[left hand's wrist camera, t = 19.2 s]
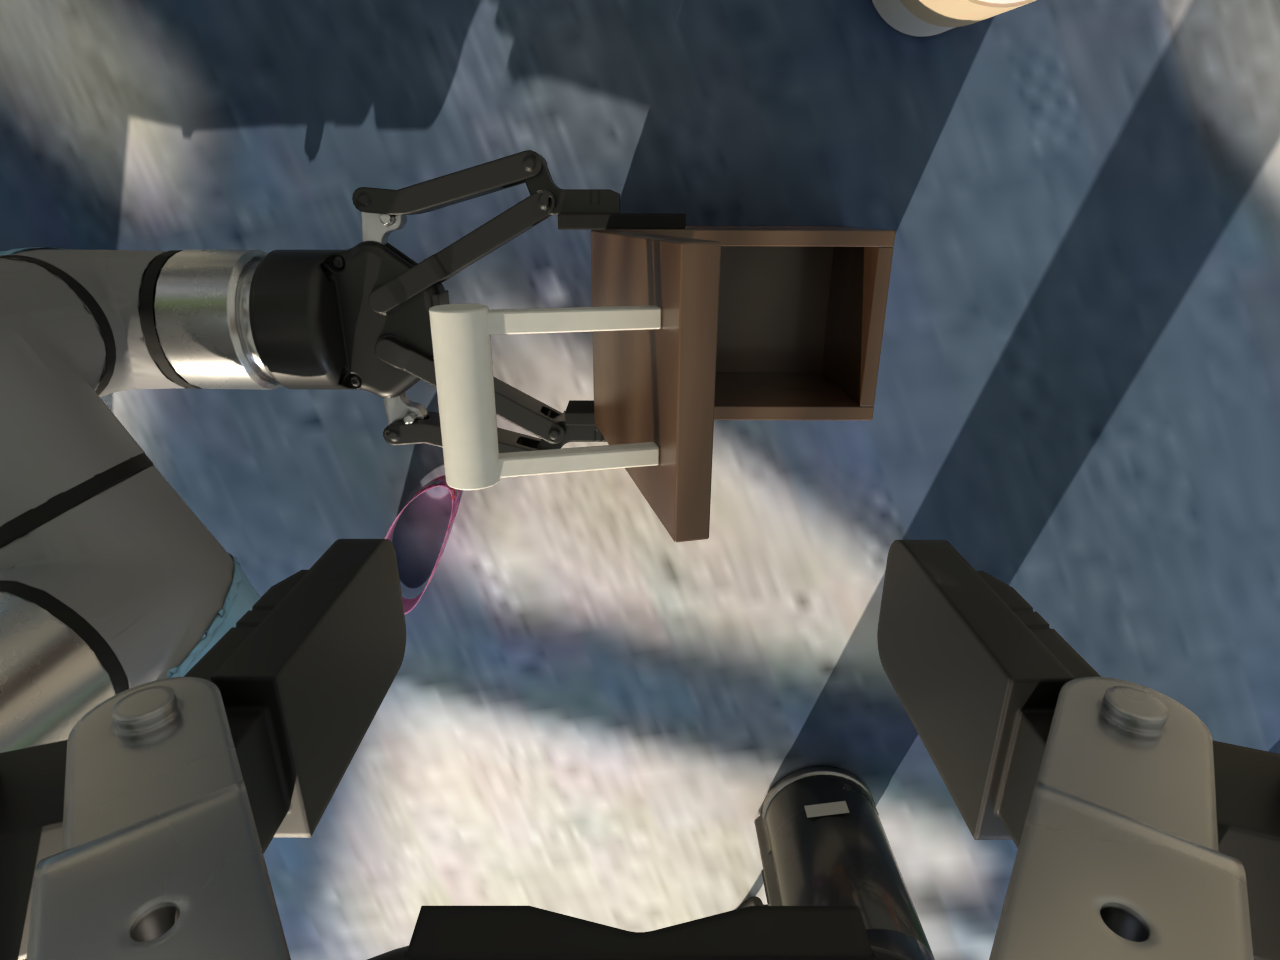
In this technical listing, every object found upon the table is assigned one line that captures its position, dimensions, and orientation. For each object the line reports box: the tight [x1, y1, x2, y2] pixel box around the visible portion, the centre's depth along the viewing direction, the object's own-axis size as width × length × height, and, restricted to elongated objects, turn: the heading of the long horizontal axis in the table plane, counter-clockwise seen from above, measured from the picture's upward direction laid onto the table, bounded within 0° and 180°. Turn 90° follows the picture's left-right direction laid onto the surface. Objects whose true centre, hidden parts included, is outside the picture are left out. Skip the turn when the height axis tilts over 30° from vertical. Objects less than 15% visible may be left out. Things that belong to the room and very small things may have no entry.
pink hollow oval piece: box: [385, 475, 460, 614], centre depth 50 cm, size 11×4×2 cm, turn 157°
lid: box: [429, 230, 721, 542], centre depth 29 cm, size 15×10×9 cm
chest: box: [605, 226, 895, 420], centre depth 41 cm, size 14×10×10 cm
